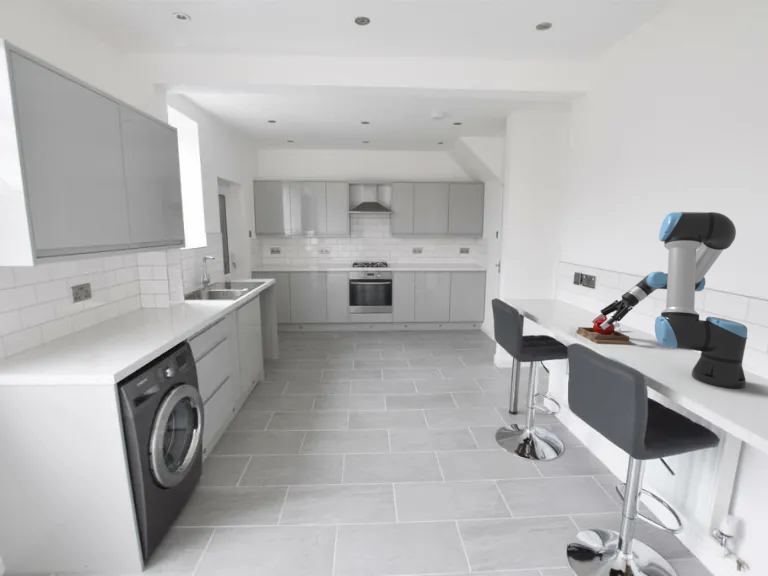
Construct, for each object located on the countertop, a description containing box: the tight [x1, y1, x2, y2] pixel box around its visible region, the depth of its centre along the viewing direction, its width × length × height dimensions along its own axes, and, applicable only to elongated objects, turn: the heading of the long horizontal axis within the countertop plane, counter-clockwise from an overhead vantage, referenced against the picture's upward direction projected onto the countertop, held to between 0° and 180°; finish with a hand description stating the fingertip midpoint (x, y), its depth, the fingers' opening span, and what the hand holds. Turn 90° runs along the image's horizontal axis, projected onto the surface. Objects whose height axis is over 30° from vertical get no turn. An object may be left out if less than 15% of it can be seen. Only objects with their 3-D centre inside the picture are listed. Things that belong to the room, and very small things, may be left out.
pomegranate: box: [592, 315, 614, 335], centre depth 196 cm, size 10×10×9 cm
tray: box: [575, 326, 632, 345], centre depth 197 cm, size 20×17×4 cm
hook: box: [610, 312, 622, 333], centre depth 216 cm, size 8×12×7 cm
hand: (597, 325), depth 196 cm, fingers open, 10 cm apart
